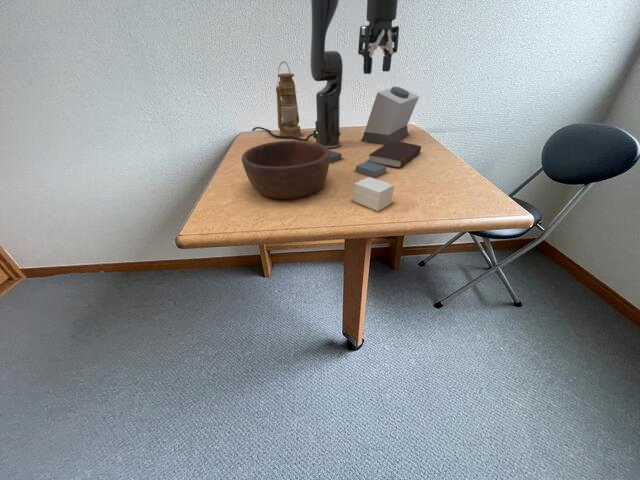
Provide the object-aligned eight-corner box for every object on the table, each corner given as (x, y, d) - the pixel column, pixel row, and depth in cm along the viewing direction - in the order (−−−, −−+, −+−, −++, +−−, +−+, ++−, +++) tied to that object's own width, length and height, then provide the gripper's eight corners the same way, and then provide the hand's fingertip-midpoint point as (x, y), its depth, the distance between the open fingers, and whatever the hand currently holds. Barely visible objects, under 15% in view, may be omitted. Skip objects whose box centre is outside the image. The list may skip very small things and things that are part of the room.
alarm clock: (381, 130, 135) (386, 83, 123) (413, 134, 127) (421, 84, 116) (361, 140, 122) (364, 88, 110) (395, 146, 114) (402, 90, 102)
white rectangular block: (353, 201, 74) (354, 190, 73) (367, 194, 78) (368, 183, 76) (377, 211, 70) (378, 199, 68) (391, 203, 73) (393, 192, 71)
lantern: (286, 130, 140) (279, 60, 123) (305, 131, 138) (301, 60, 121) (274, 138, 129) (265, 62, 111) (295, 139, 126) (289, 62, 109)
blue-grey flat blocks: (315, 158, 104) (315, 152, 103) (326, 154, 108) (326, 149, 107) (374, 177, 87) (375, 171, 86) (385, 172, 91) (386, 166, 90)
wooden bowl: (239, 206, 74) (231, 169, 68) (255, 172, 94) (250, 141, 88) (332, 203, 74) (332, 165, 68) (328, 169, 94) (328, 138, 88)
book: (420, 153, 105) (421, 144, 103) (400, 169, 93) (402, 159, 91) (389, 148, 111) (390, 140, 110) (367, 162, 99) (368, 153, 97)
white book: (354, 190, 73) (354, 183, 71) (368, 183, 76) (369, 176, 75) (379, 199, 68) (379, 192, 67) (393, 192, 71) (394, 185, 70)
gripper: (387, 0, 75) (381, 70, 84) (352, -4, 67) (350, 74, 76) (411, -4, 70) (402, 71, 79) (377, -9, 62) (371, 75, 71)
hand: (376, 72), depth 78 cm, fingers open, 8 cm apart
